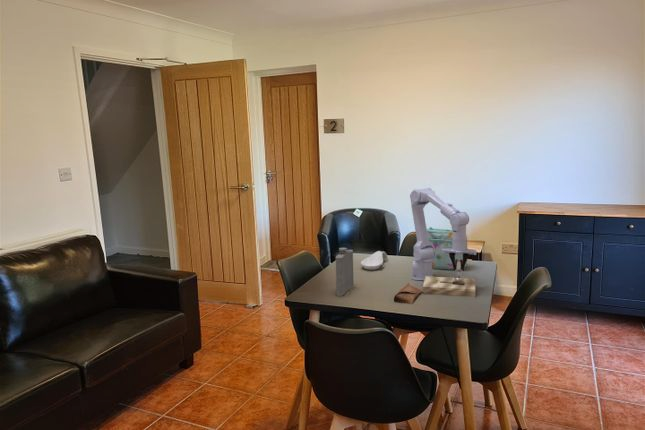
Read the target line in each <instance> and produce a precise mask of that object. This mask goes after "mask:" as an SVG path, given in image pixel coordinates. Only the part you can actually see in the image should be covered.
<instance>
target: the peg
mask: <svg viewBox="0 0 645 430" xmlns="http://www.w3.org/2000/svg"><path fill="white" fill-rule="evenodd" d="M454 271H455V272H456V273H457V274H456V276H453V278H454V280H455V281H463V278H464V277H463V276H461V272H462V271H463V270H462V259H455V270H454Z"/></svg>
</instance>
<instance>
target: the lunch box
mask: <svg viewBox="0 0 645 430" xmlns="http://www.w3.org/2000/svg"><path fill="white" fill-rule="evenodd" d="M452 232H453V230H452V229H448V228H447V229H444V228H433V227H432V226H430V227H429V228H427V234H428V240H429V241H430V242H431V243H433V247H434V249H435V251H436V256H435V257H434V258H433V261H432V270H433V269H435V270H450V271H451V270H452V271H454V268H453V264H452V261H451V259H450V257H449V254H446V253H445V254H442V249H449V248H452ZM424 247H425V246H424ZM424 247H422V248H424ZM466 249H468V236H467V235H466ZM455 259H462V264H463V254H455ZM467 262H468V260H467V261H466V263H465V265H467Z"/></svg>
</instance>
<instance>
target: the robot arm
mask: <svg viewBox="0 0 645 430" xmlns="http://www.w3.org/2000/svg"><path fill="white" fill-rule="evenodd" d="M409 199H410V203H411V205H410V206H411V212H412V218H413V219H412V220H413V223H414V229H415V236H416V243H415V245H413V254H412V255H413V258H414V259H415V260H412V272H411V275H412V279H411V280H414V281H424V280H425V277H426V276H430V277H434V275H433V269H432V261H433V258H434V257H435V256H436V251H435V249H434V247H433V243H431V242H430V241H429V240H428V234H427V229H428V228H427V224H426V216H425V212H424V211H425V210H424V208H425V206H427V205H428V204H429V203H430V204H432V205H433V206H435V207H436V208H437V209H439V210H440V211H439V212H440V213H441V214H442V216H444V217H445V218H447V219H448V220H449V224H450V226H451V230H453V232H452V248H449V249H442V254H445V253H446V254H449V257H450V259H451V261H452V264H453V268H454V269H453V271H455V254H463V264H462V271H465V266H466V264H467V263H466V261H467V262H468V260H469V257H470V255H474V256H477V249H471V248H470V249H469V248H467V249H466V236H467V225H468V224H469V222H470V217H469V215H468V214H467V212H465V211H460V210H459V209H457V207H455V206H453V203H451V202H450V203H448V202H447V203H445V202H444V201H443V199H441V198H440V197H439V196H438V195H437V194H436V192H435V190H433V189H432V188H431V187H427V188H420V189H419V188H418V189H417V188H416V189H415V188H414V189H413V190H411V192H410V194H409ZM424 246H425V247H424ZM422 247H424V248H422ZM465 263H466V264H465Z"/></svg>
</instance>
